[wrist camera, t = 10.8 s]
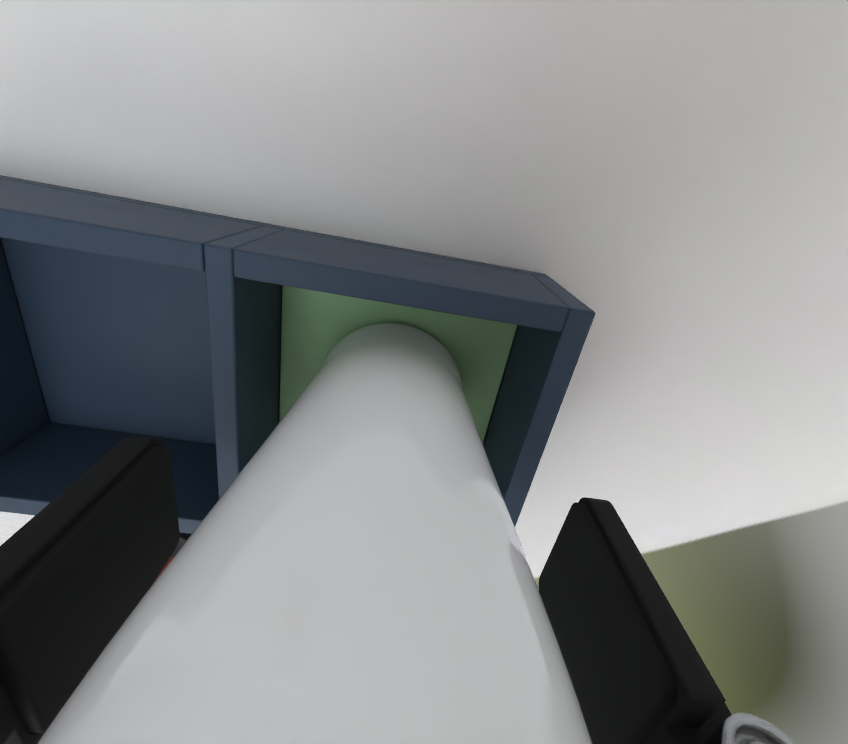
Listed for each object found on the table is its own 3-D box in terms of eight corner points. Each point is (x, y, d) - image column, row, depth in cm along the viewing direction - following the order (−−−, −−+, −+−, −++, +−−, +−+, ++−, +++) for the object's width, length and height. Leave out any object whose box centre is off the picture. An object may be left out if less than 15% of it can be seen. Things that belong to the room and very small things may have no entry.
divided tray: (546, 273, 14) (596, 312, 10) (481, 483, 19) (498, 570, 15) (-21, 171, 13) (-230, 168, 9) (48, 425, 17) (-70, 503, 13)
